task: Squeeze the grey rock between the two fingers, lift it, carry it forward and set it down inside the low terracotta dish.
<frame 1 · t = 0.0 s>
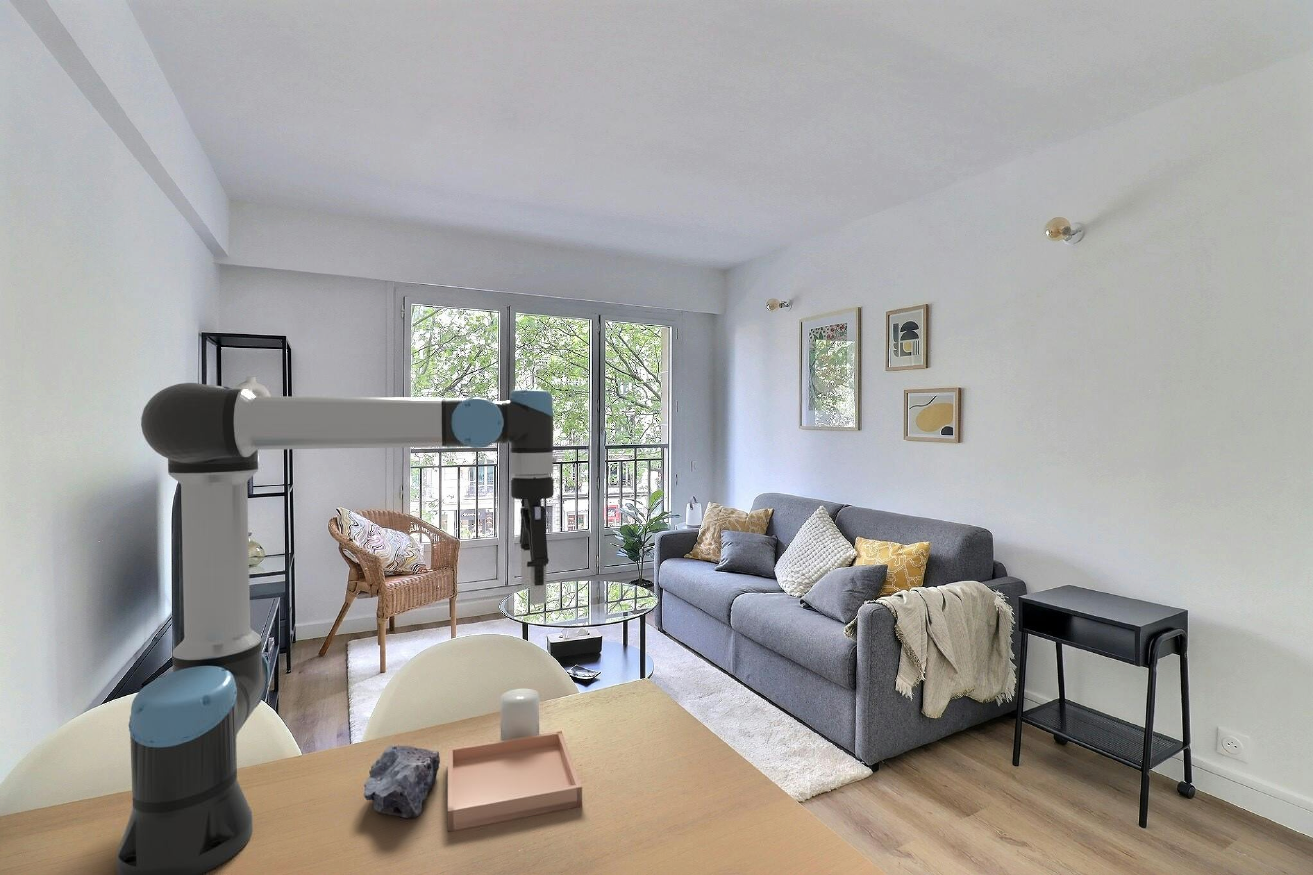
hand: (533, 593, 116), 28 cm above the table, fingers open, 13 cm apart
dish: (511, 784, 104), on the table
white rounded cylinder: (520, 738, 119), on the table
rock: (400, 802, 100), on the table
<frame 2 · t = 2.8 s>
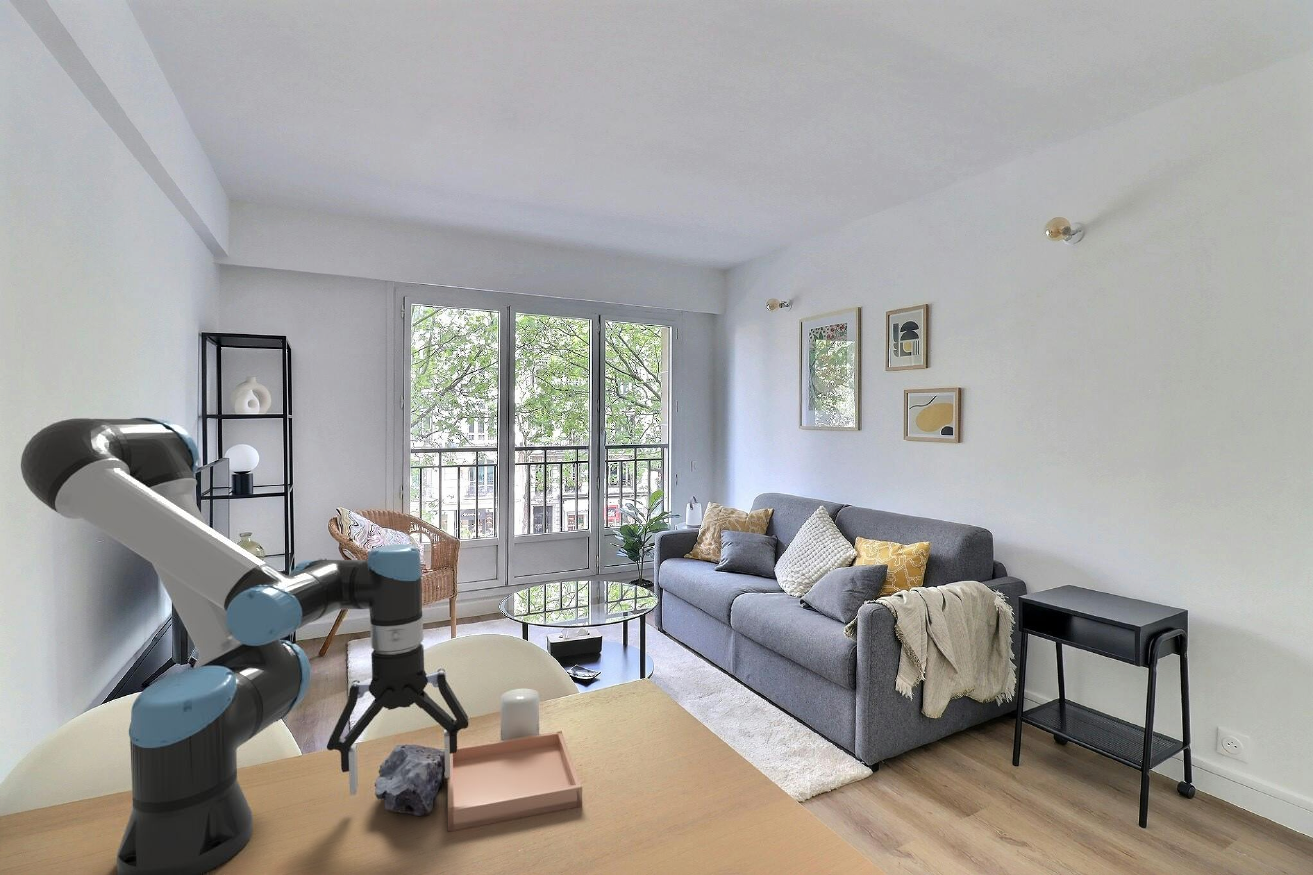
hand: (402, 781, 100), 3 cm above the table, fingers open, 13 cm apart
rock: (410, 801, 100), on the table
everything else where it was.
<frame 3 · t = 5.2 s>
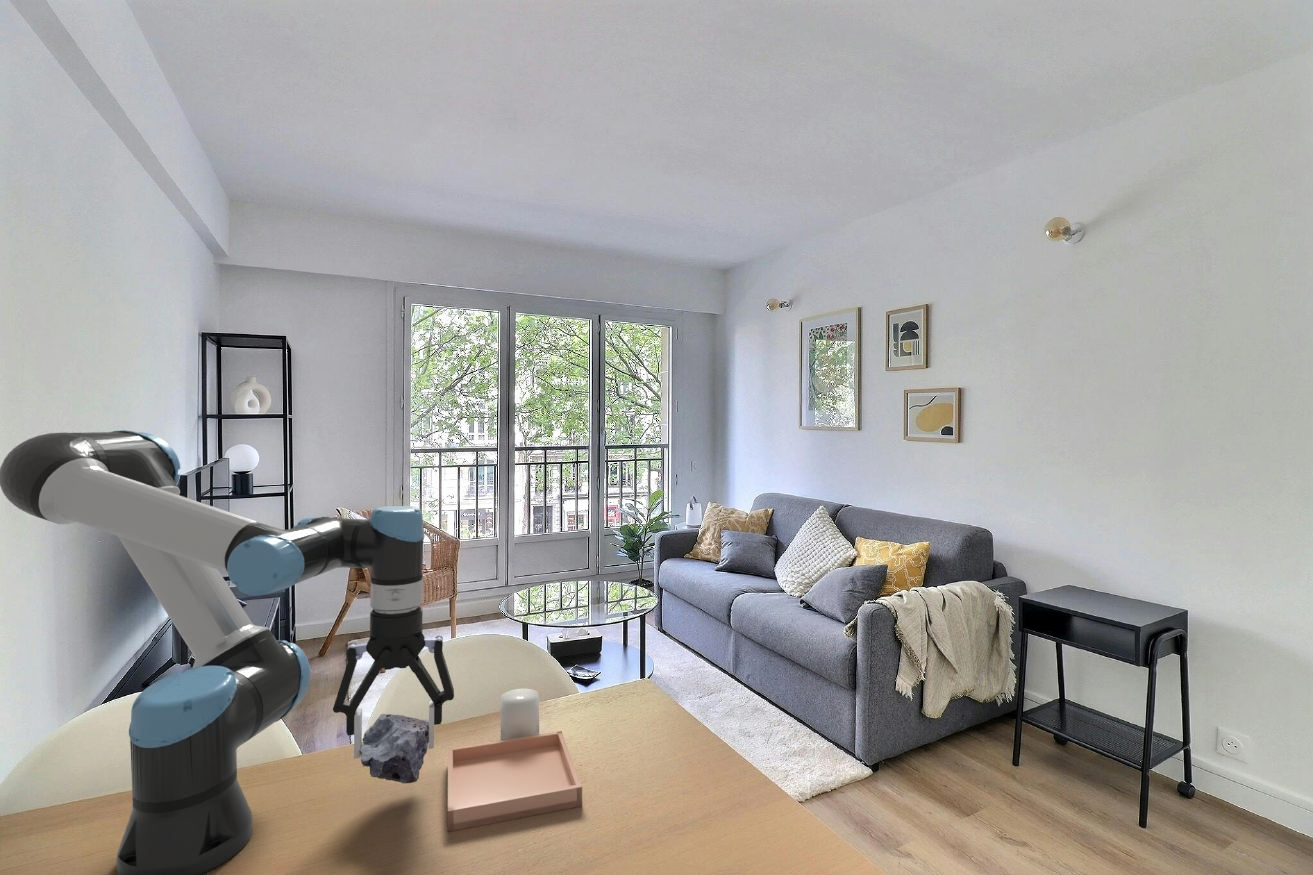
hand: (395, 749, 100), 8 cm above the table, fingers closed on rock, 10 cm apart
rock: (394, 769, 100), point 5 cm above the table, touching gripper
everything else where it was.
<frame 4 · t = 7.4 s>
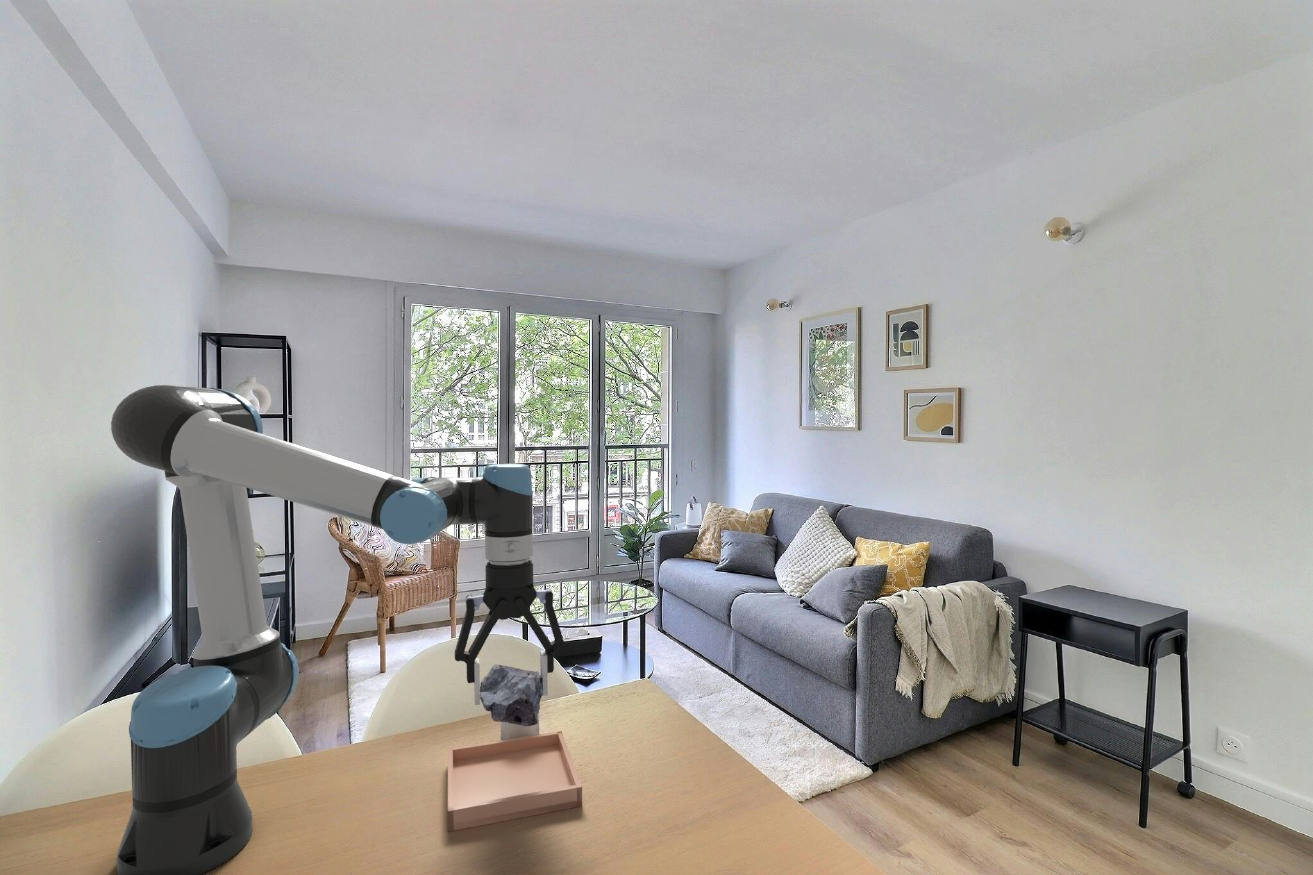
hand: (511, 696, 104), 14 cm above the table, fingers closed on rock, 10 cm apart
rock: (511, 716, 104), point 11 cm above the table, touching gripper
everything else where it was.
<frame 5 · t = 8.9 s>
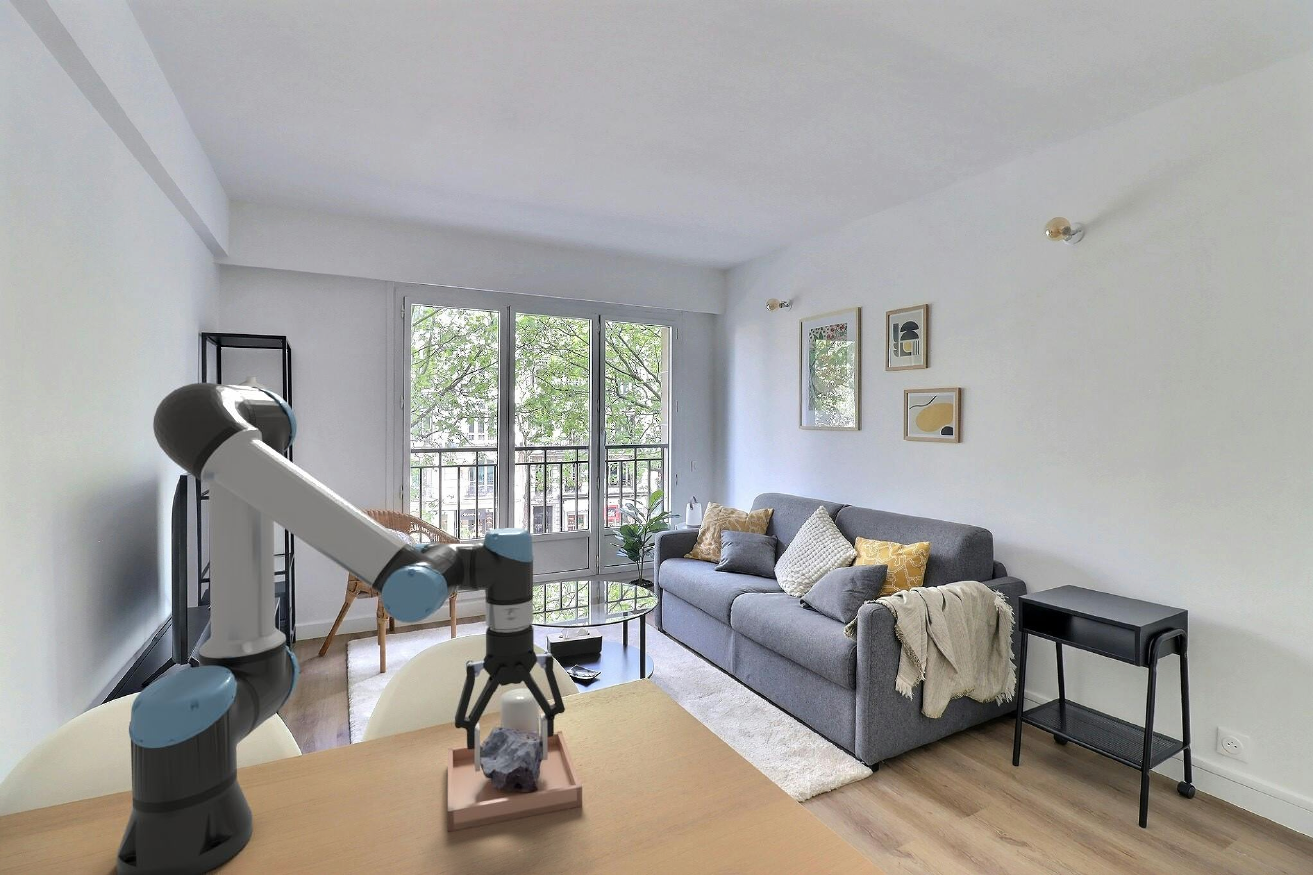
hand: (511, 761, 104), 4 cm above the table, fingers closed on rock, 10 cm apart
rock: (511, 780, 104), point 1 cm above the table, touching gripper
everything else where it was.
when the fingers open (4 cm above the table, at t = 9.8 s): rock stays where it is, resting on dish.
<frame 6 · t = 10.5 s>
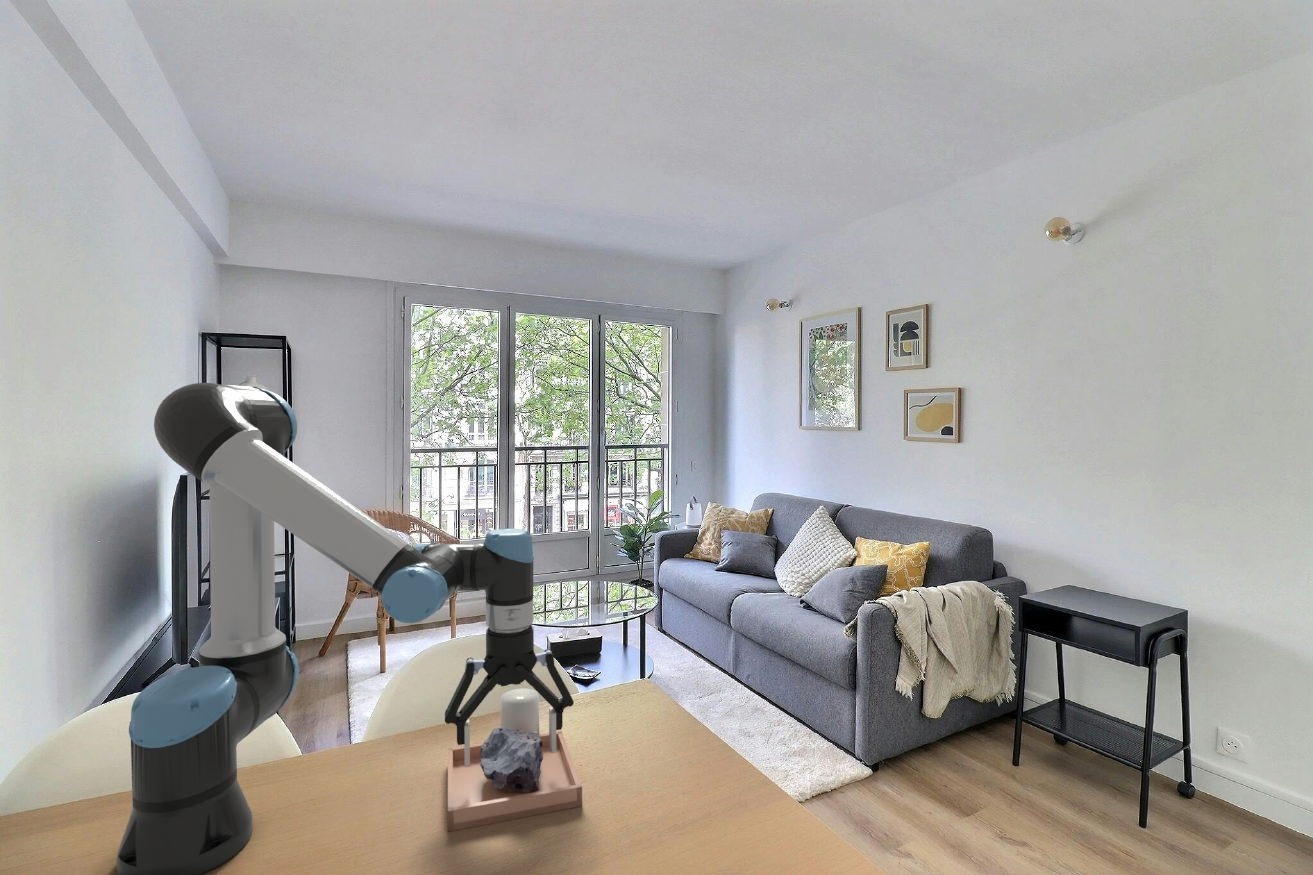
hand: (510, 755, 104), 5 cm above the table, fingers open, 13 cm apart
rock: (512, 780, 104), point 1 cm above the table, touching dish
everything else where it was.
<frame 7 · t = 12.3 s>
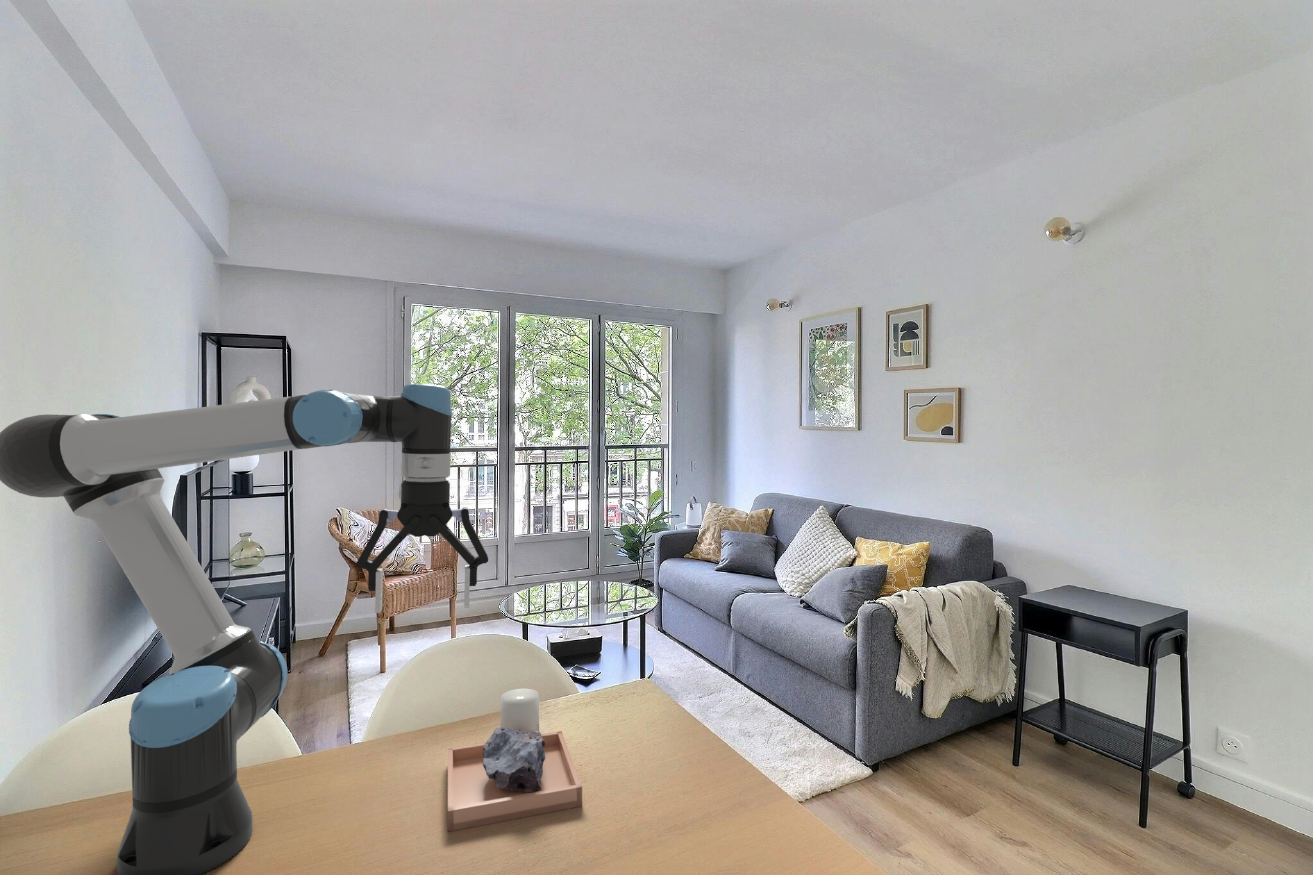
hand: (423, 608, 105), 28 cm above the table, fingers open, 13 cm apart
nothing on the table moved.
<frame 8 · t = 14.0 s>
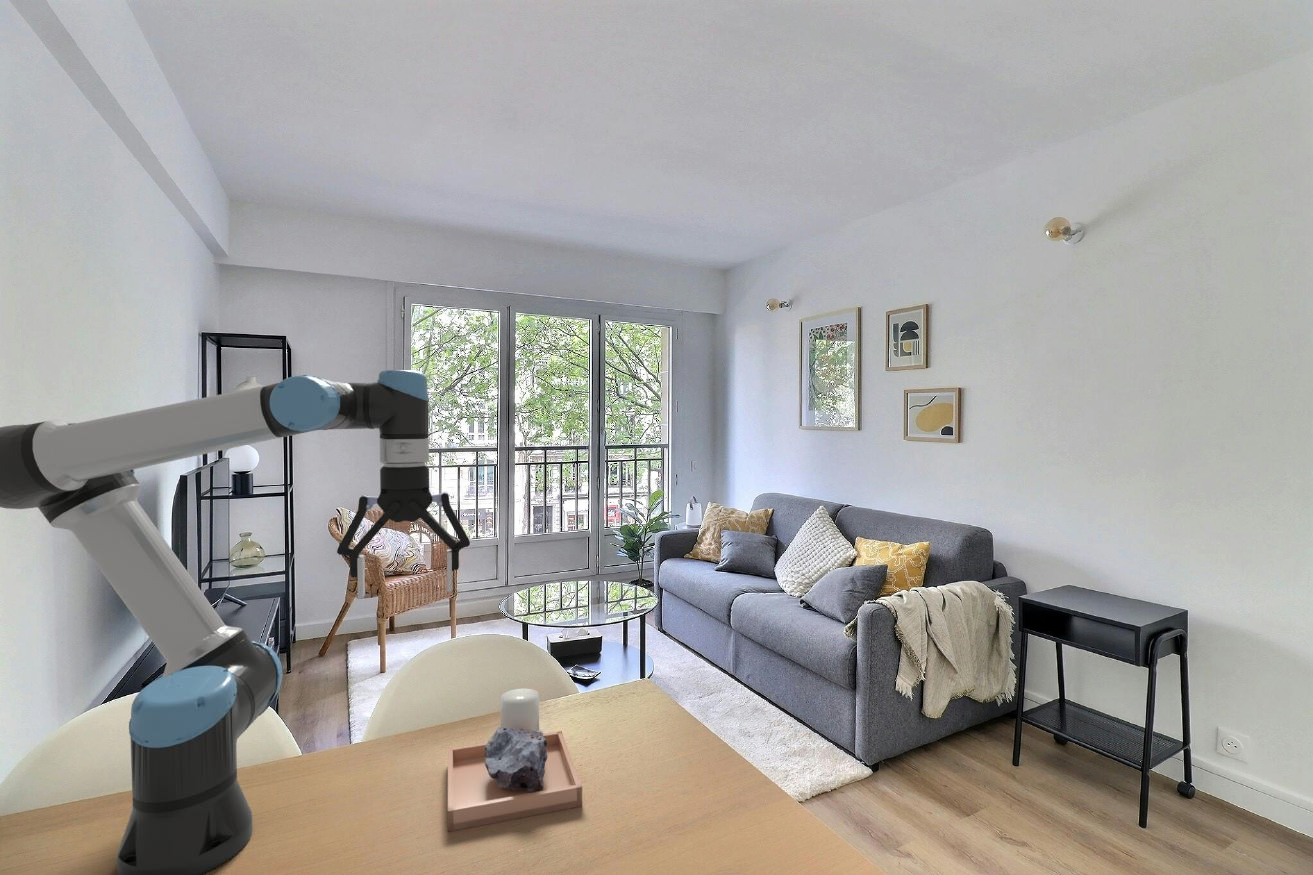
hand: (406, 593, 106), 31 cm above the table, fingers open, 13 cm apart
nothing on the table moved.
at the end: rock inside the target area on the dish (0.9 cm from its centre), point 0.8 cm above the dish's base; the gripper is holding nothing; white rounded cylinder moved 0.1 cm from its start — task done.
